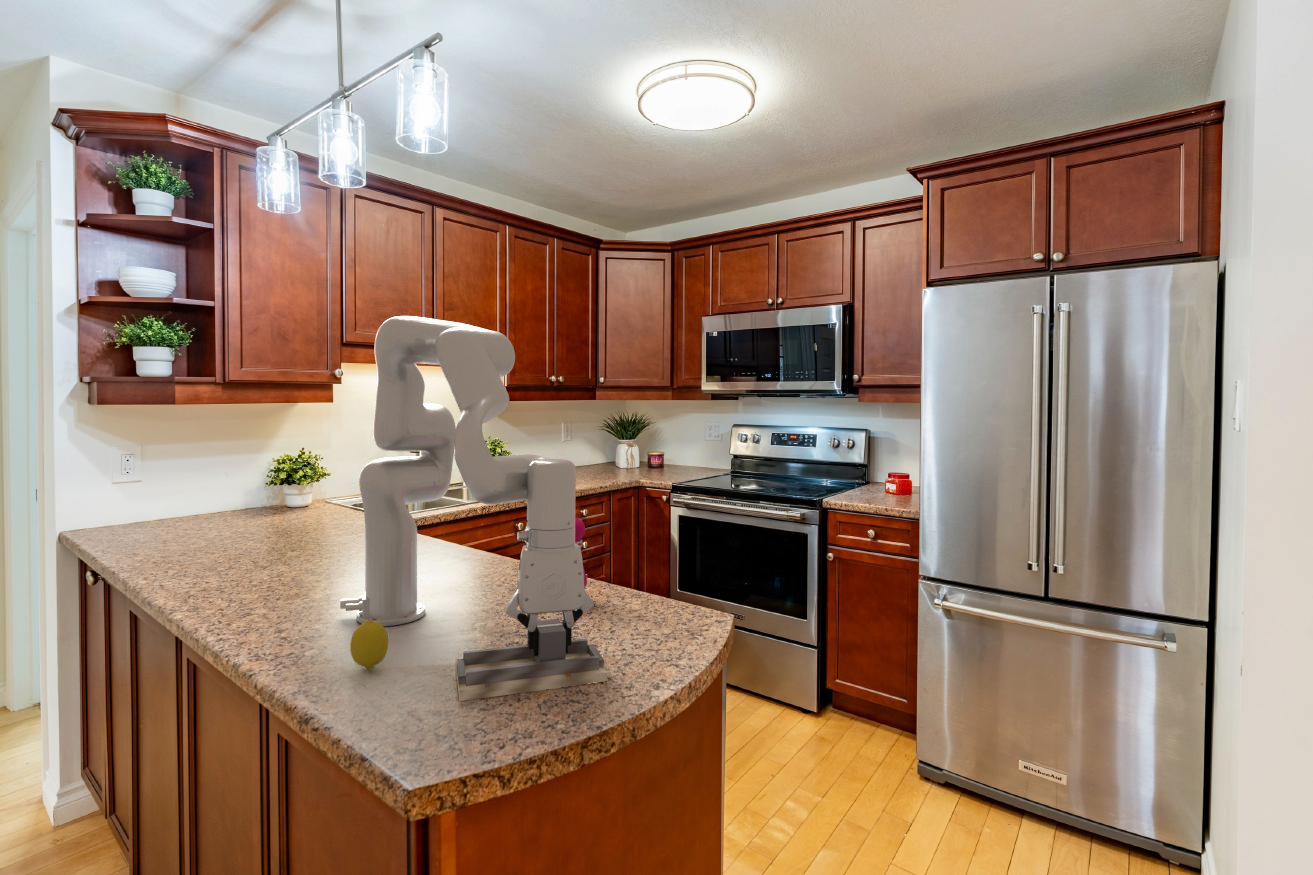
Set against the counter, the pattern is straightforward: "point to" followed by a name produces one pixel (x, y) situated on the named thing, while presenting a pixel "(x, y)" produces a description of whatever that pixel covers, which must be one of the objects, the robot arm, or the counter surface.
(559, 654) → the fader knob
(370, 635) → the lemon
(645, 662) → the counter surface
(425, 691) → the counter surface
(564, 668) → the fader board
